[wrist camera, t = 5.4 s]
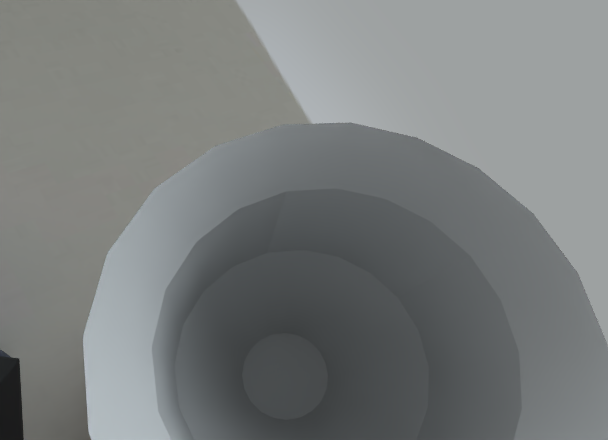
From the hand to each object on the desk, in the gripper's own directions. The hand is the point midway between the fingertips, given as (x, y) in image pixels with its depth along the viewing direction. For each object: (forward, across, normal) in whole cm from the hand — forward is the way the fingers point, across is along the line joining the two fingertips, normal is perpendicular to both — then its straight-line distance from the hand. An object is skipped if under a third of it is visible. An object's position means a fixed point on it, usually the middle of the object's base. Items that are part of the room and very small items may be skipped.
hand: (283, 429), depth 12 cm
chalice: (+9, 0, -7) cm, 11 cm away
